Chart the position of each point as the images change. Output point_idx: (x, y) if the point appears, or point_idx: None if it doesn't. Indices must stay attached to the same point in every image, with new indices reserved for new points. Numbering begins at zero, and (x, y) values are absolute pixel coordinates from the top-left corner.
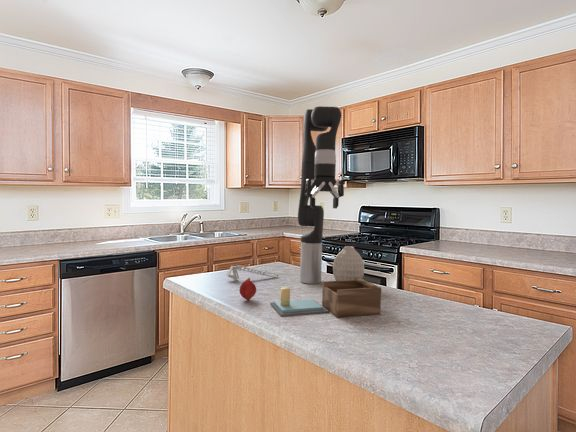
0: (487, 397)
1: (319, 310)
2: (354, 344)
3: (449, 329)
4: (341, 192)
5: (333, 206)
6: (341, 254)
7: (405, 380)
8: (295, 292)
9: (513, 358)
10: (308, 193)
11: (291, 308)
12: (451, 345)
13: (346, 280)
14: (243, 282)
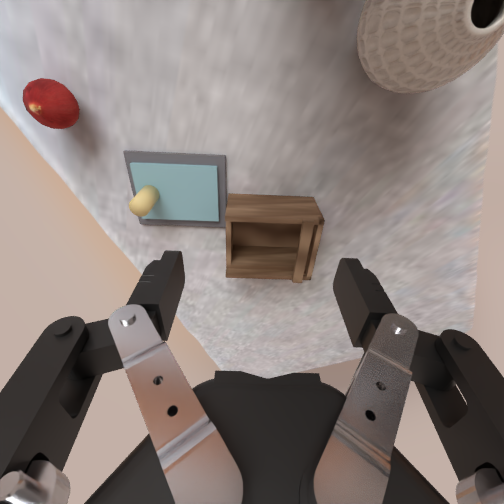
0: None
1: (211, 221)
2: (211, 313)
3: None
4: (432, 402)
5: (342, 271)
6: (414, 26)
7: (220, 358)
8: (204, 54)
9: (329, 356)
10: (82, 378)
11: (159, 214)
12: (304, 333)
13: (281, 221)
14: (25, 106)
